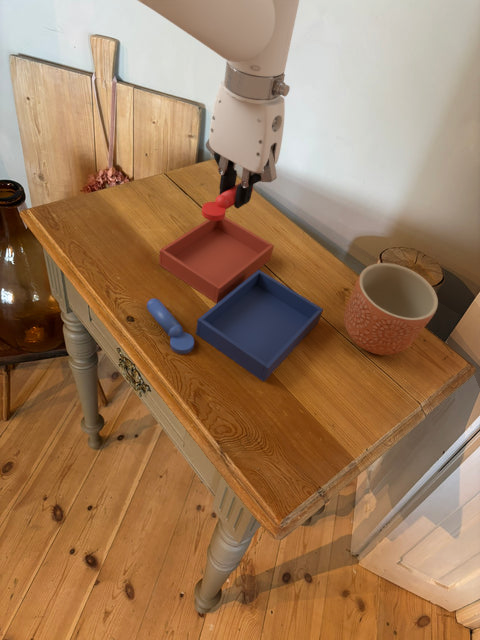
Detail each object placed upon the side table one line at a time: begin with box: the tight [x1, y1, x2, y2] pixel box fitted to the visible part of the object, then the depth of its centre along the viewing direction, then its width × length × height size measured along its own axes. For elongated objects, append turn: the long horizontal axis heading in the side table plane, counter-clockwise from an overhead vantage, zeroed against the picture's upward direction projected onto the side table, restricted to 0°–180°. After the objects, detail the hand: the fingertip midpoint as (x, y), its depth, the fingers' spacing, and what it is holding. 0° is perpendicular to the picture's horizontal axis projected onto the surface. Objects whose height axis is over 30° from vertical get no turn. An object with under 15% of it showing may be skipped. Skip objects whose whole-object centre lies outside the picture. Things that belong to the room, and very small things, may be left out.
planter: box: [343, 262, 439, 356], centre depth 74 cm, size 12×12×11 cm
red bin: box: [158, 216, 275, 304], centre depth 83 cm, size 13×16×4 cm
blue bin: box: [195, 269, 324, 382], centre depth 74 cm, size 13×16×4 cm
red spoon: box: [201, 182, 254, 221], centre depth 72 cm, size 11×4×2 cm, turn 143°
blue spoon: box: [146, 297, 195, 355], centre depth 71 cm, size 11×4×2 cm, turn 38°
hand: (233, 199), depth 74 cm, fingers closed on red spoon, 2 cm apart
